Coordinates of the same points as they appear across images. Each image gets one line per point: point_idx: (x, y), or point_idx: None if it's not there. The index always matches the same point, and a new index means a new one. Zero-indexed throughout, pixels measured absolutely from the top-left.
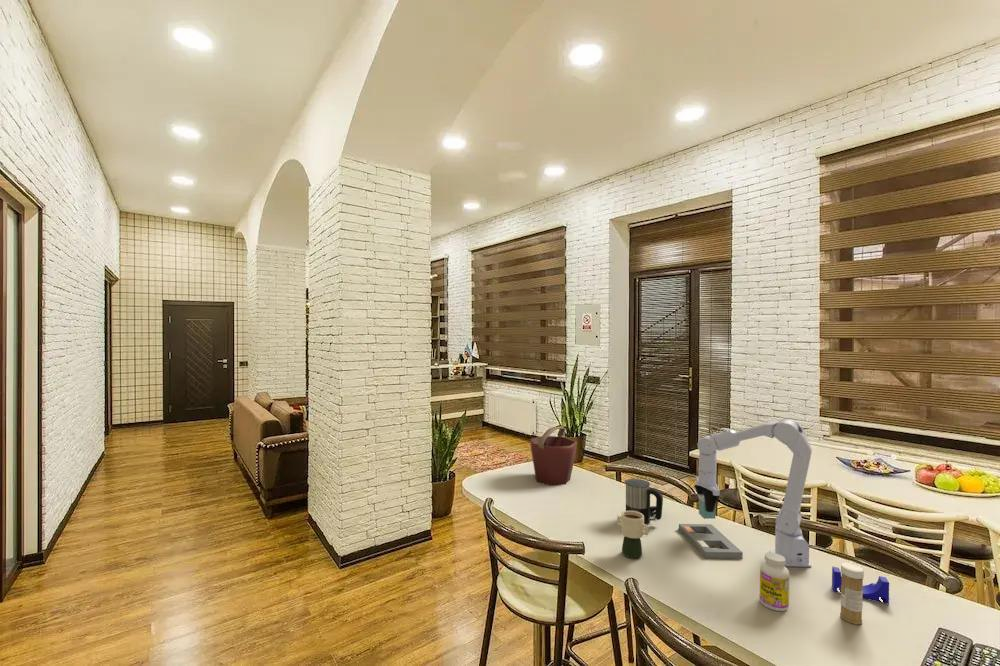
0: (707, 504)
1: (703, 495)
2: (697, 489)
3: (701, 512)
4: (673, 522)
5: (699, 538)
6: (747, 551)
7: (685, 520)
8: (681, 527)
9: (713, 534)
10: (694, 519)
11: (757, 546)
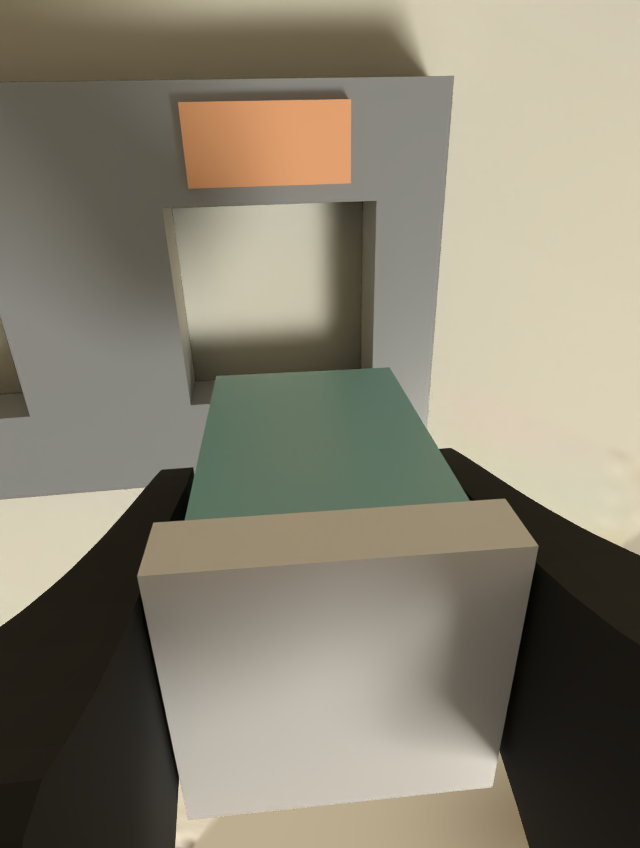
0: (88, 562)
1: (427, 646)
2: (638, 656)
3: (306, 393)
4: (618, 97)
5: (18, 188)
6: (13, 561)
7: (635, 270)
8: (362, 79)
9: (177, 398)
10: (635, 370)
11: None
